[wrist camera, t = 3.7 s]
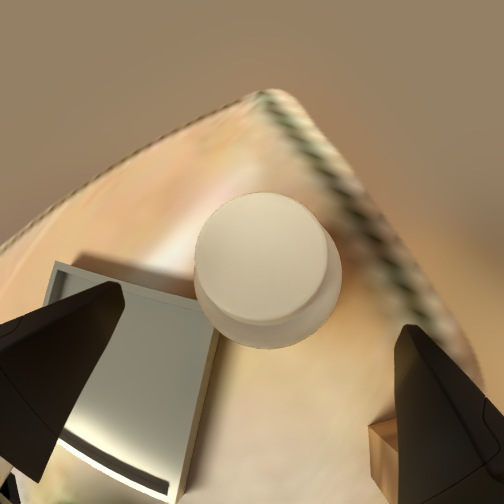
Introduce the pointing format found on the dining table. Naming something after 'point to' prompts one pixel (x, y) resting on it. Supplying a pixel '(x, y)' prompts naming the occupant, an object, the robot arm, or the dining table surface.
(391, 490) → the walnut block
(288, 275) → the supplement bottle
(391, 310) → the dining table surface
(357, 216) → the dining table surface
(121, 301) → the robot arm
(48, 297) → the slate tray
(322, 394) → the dining table surface
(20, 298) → the dining table surface
